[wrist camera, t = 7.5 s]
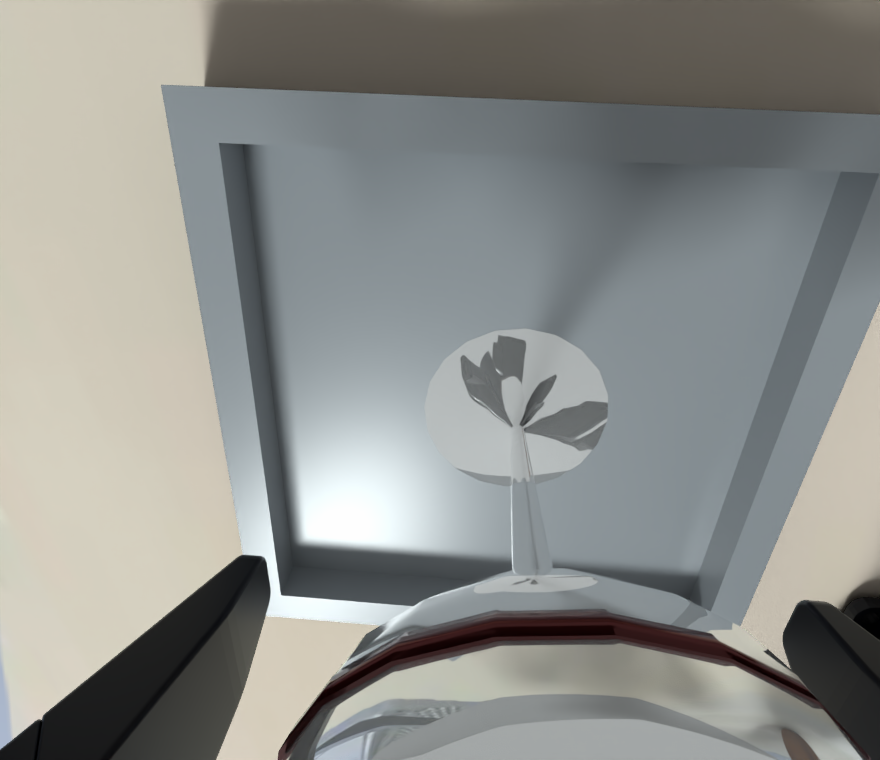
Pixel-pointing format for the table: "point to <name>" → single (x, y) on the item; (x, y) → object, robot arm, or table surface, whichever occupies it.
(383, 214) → the serving tray
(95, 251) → the table surface
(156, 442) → the table surface
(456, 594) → the wineglass
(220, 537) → the table surface
